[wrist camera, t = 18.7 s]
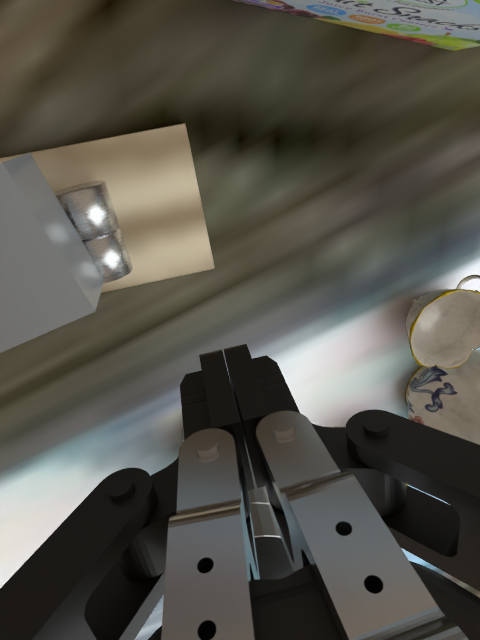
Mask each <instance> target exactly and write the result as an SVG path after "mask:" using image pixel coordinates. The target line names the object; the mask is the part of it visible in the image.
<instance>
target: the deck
mask: <svg viewBox="0 0 480 640" xmlns="http://www.w3.org/2000/svg"><path fill="white" fill-rule="evenodd" d="M30 153H31V155H32V157H33V158H34V160H35V162H36V164H37V165H38V167H39V169H40V170H41V172H42V174H43V175H44V177H45V179H46V180H47V182H48V184H49V186H50V187H51V189H52V191H53V192H54V193H55V192H57V191H59V190H62V189H65V188H68V187H72V186H75V185H79V184H83V183H88V182H94V181H105V182H106V185H107V188H108V191H109V194H110V198H111V201H112V204H113V207H114V210H115V213H116V216H117V219H118V222H119V225H120V226H119V227H120V229H121V232H122V235H123V238H124V241H125V244H126V247H127V250H128V253H129V257H130V260H131V263H132V266H133V270H132V271H131V272H130V273H129V274H128V275H126V276H124V277H122V278H120V279H118V280H115V281H112V282H109V283H104V284H103V287H102V290H101V293H102V292H107V291H112V290H116V289H121V288H126V287H130V286H135V285H140V284H144V283H149V282H154V281H158V280H163V279H167V278H172V277H177V276H181V275H186V274H191V273H195V272H200V271H205V270H209V269H214V263H213V258H212V253H211V248H210V243H209V238H208V233H207V228H206V223H205V218H204V214H203V209H202V204H201V199H200V194H199V189H198V184H197V179H196V174H195V169H194V164H193V159H192V154H191V149H190V144H189V139H188V135H187V130H186V125H185V123H182V124H177V125H172V126H166V127H161V128H156V129H151V130H145V131H140V132H135V133H129V134H124V135H119V136H114V137H108V138H103V139H98V140H93V141H87V142H82V143H77V144H71V145H66V146H61V147H56V148H50V149H45V150H40V151H34V152H30ZM24 154H26V153H24ZM21 155H23V154H19V155H13V156H8V157H3V158H0V164H1V163H3V162H6V161H8V160H11V159H13V158H16V157H18V156H21Z"/></svg>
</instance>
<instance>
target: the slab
mask: <svg viewBox="0 0 480 640" xmlns="http://www.w3.org/2000/svg"><path fill="white" fill-rule="evenodd" d="M104 280H105V279H104V277H103V276H102V274H101V272H100V270H99V269H98V267H97V265H96V264H95V262H94V260H93V259H92V257H91V255H90V253H89V252H88V250H87V248H86V247H85V245H84V243H83V242H82V240H81V238H80V237H79V235H78V233H77V231H76V230H75V228H74V226H73V225H72V223H71V221H70V220H69V218H68V216H67V214H66V213H65V211H64V209H63V208H62V206H61V204H60V203H59V201H58V199H57V197H56V196H55V194H54V192H53V191H52V189H51V187H50V186H49V184H48V182H47V180H46V179H45V177H44V175H43V174H42V172H41V170H40V169H39V167H38V165H37V164H36V162H35V160H34V158H33V157H32V155H31V153H30V152H29V153H26V154H23V155H21V156H18V157H16V158H13V159H11V160H8V161H6V162H3V163H1V164H0V353H1V352H4V351H6V350H8V349H11V348H13V347H15V346H17V345H20V344H22V343H24V342H27V341H29V340H31V339H33V338H36V337H38V336H40V335H43V334H45V333H47V332H49V331H52V330H54V329H56V328H59V327H61V326H63V325H66V324H68V323H70V322H72V321H75V320H77V319H79V318H82V317H84V316H86V315H88V314H91V313H93V312H95V311H96V307H97V304H98V300H99V297H100V294H101V290H102V287H103V283H104Z"/></svg>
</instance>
